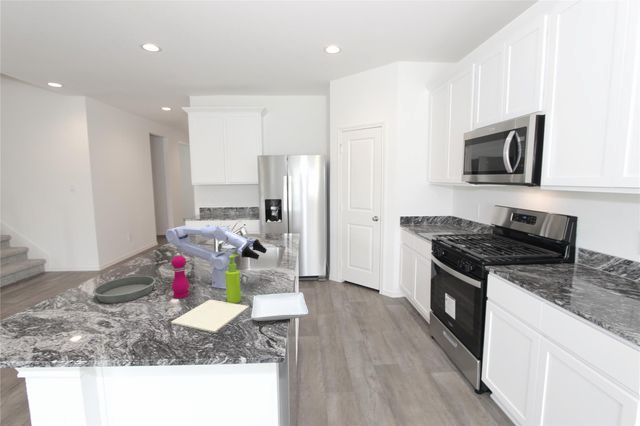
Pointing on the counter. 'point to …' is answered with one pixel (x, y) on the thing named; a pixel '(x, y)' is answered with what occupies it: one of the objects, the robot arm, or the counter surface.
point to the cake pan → (124, 289)
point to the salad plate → (279, 306)
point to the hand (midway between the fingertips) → (262, 254)
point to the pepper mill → (179, 277)
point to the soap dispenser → (233, 282)
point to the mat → (210, 315)
